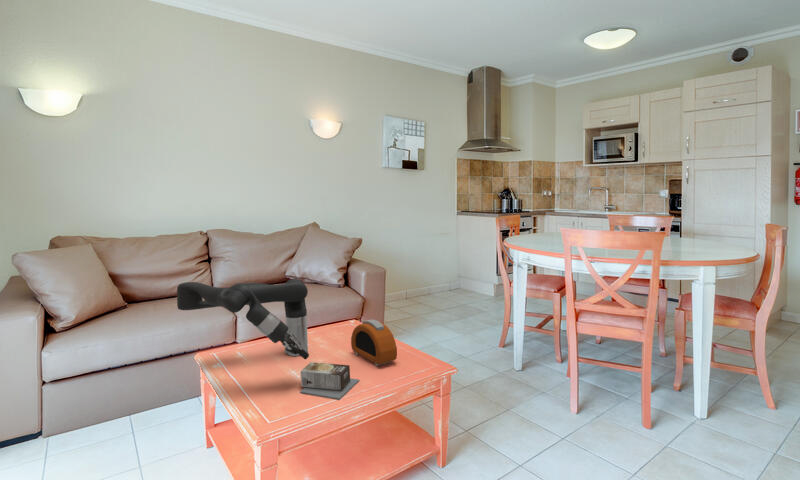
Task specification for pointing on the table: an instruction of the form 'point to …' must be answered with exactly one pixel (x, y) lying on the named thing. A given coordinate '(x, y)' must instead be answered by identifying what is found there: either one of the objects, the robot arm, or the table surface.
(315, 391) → the mat
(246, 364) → the table surface
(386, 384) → the table surface
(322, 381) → the coffee box
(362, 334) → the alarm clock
